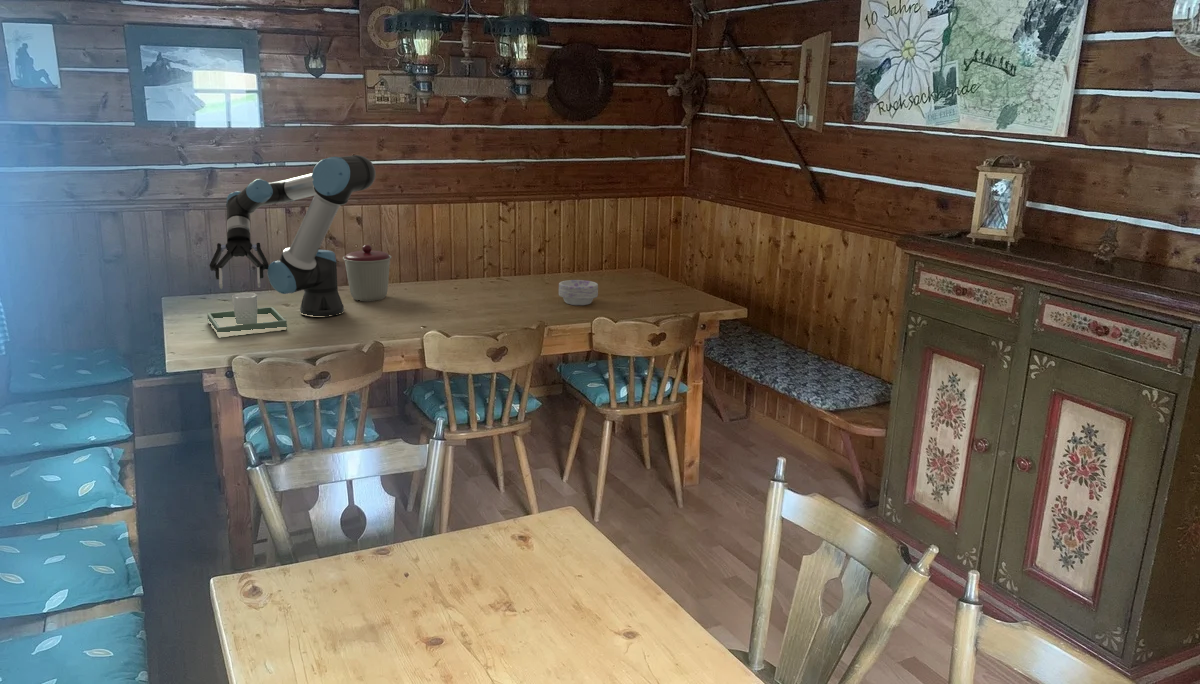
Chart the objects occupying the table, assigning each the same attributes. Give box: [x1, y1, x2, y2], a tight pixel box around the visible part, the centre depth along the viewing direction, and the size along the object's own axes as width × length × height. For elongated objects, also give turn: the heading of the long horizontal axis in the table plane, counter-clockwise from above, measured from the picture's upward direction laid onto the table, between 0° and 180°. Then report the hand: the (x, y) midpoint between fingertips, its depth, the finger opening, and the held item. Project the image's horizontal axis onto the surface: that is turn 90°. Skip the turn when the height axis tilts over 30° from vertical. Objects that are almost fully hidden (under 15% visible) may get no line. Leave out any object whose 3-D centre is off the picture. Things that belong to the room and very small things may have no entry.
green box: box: [206, 306, 288, 332], centre depth 312 cm, size 22×22×4 cm
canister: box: [342, 244, 392, 302], centre depth 352 cm, size 18×18×21 cm
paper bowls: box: [558, 279, 599, 306], centre depth 355 cm, size 15×15×8 cm
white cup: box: [231, 292, 258, 325], centre depth 311 cm, size 8×8×10 cm
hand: (240, 286), depth 306 cm, fingers open, 11 cm apart
